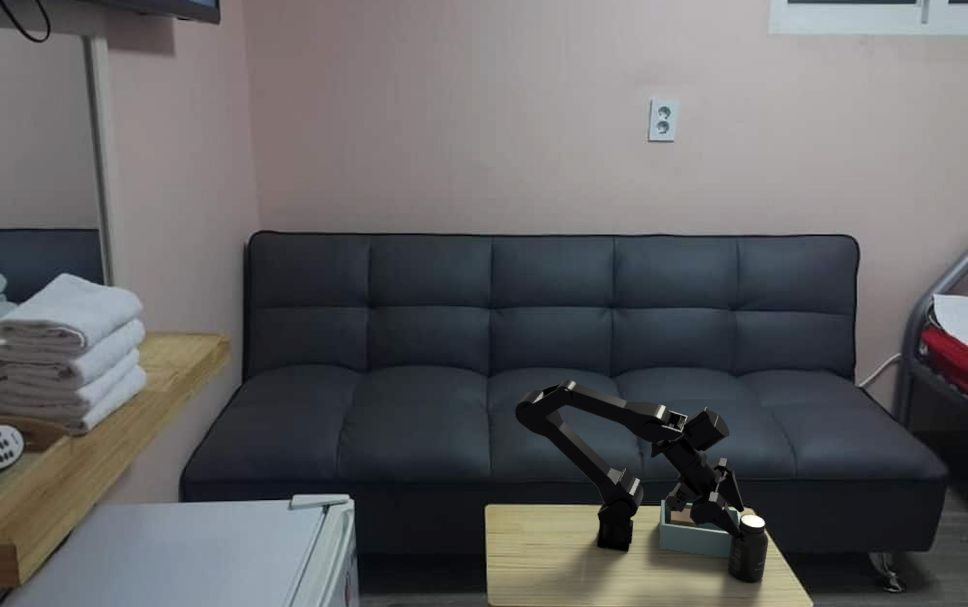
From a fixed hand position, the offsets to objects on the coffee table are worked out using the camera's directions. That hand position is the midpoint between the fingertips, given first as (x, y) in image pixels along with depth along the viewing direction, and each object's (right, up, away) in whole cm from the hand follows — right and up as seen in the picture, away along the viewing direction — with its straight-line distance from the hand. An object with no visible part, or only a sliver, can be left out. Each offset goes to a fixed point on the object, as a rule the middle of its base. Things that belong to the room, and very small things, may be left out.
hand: (740, 523), depth 158 cm
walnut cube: (-8, -6, +13) cm, 17 cm away
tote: (-5, -7, +13) cm, 15 cm away
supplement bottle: (+2, -11, +3) cm, 11 cm away
